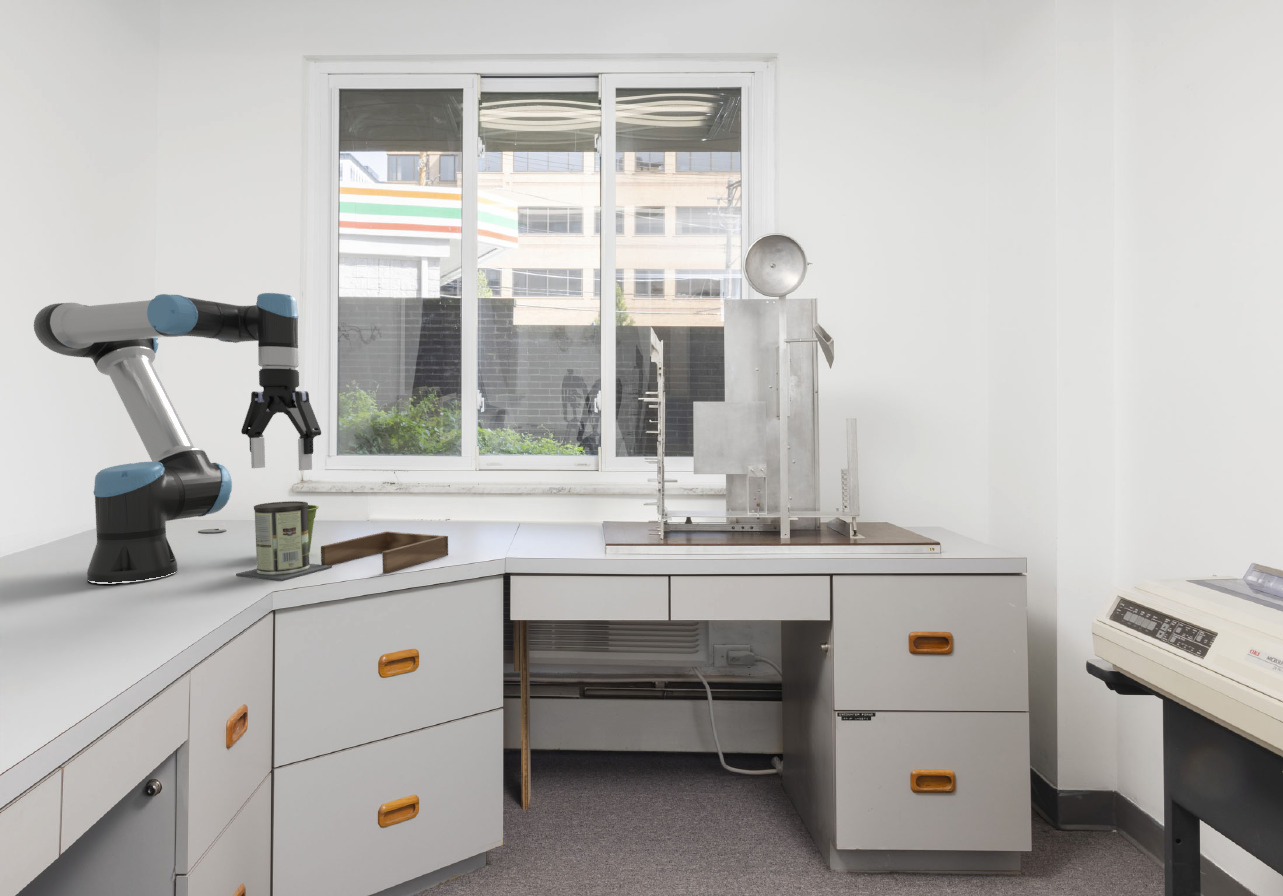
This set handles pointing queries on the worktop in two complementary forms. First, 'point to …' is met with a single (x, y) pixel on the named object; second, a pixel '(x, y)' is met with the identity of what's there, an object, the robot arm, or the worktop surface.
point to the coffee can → (281, 537)
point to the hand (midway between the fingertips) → (281, 469)
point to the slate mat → (282, 577)
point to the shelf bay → (388, 549)
